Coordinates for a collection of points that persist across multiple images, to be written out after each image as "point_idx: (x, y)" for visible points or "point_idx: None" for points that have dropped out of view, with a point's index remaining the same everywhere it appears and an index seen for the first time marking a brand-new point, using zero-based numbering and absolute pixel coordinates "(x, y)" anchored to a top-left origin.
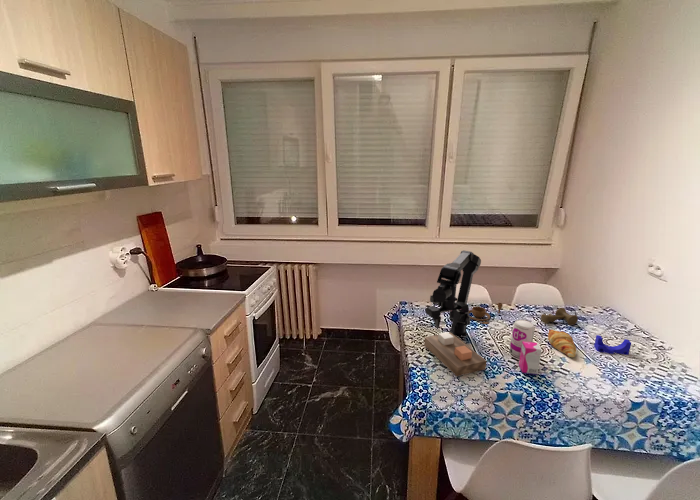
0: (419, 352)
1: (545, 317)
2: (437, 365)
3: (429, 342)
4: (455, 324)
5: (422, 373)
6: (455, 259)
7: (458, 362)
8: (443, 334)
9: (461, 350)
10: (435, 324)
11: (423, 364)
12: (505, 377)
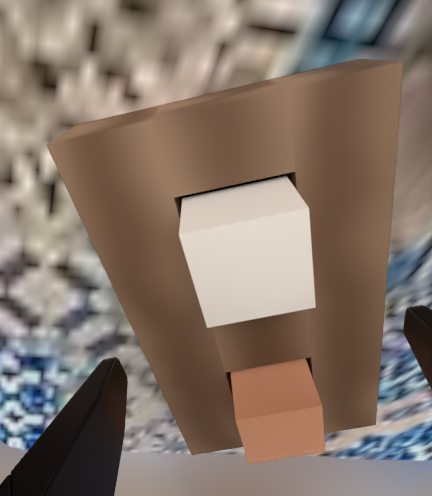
0: (25, 224)
1: None
2: (124, 344)
3: (88, 228)
4: (428, 362)
5: (30, 386)
6: None
7: (215, 429)
8: (232, 256)
9: (262, 443)
10: (64, 425)
11: (43, 333)
12: (393, 416)
